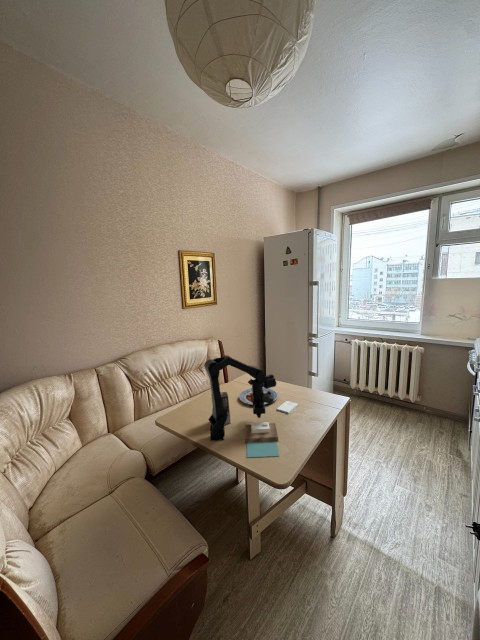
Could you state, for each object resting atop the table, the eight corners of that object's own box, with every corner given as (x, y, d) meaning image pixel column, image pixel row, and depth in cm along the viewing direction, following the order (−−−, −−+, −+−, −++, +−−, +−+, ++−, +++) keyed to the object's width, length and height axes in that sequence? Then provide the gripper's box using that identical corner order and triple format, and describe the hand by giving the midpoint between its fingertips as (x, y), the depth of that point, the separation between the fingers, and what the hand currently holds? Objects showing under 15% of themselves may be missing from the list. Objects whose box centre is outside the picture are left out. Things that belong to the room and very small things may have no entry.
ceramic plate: (244, 410, 148) (244, 406, 147) (235, 393, 173) (235, 389, 172) (284, 403, 153) (283, 399, 153) (269, 388, 178) (269, 384, 178)
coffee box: (229, 417, 141) (227, 391, 139) (230, 423, 134) (228, 396, 132) (213, 419, 139) (211, 393, 137) (214, 425, 133) (211, 398, 131)
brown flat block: (245, 442, 117) (244, 438, 116) (245, 428, 129) (244, 424, 128) (278, 441, 116) (278, 436, 116) (275, 427, 128) (275, 423, 128)
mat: (247, 457, 106) (247, 457, 106) (247, 443, 116) (247, 442, 116) (279, 456, 106) (279, 455, 106) (276, 441, 116) (276, 441, 116)
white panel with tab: (251, 433, 120) (251, 428, 120) (251, 426, 126) (251, 421, 126) (269, 432, 120) (269, 427, 120) (268, 425, 126) (268, 420, 126)
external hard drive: (276, 411, 146) (286, 402, 155) (288, 414, 140) (298, 405, 150) (276, 408, 145) (286, 400, 155) (288, 412, 140) (298, 403, 150)
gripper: (274, 397, 120) (276, 426, 122) (270, 382, 139) (272, 408, 141) (252, 398, 121) (254, 427, 123) (251, 384, 139) (253, 409, 141)
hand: (259, 417), depth 132 cm, fingers closed
